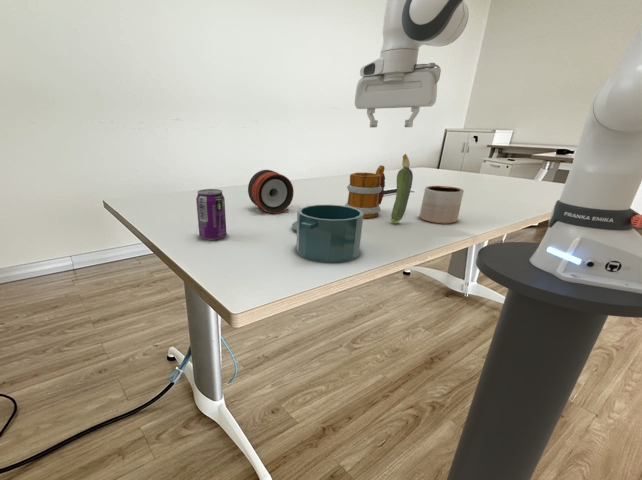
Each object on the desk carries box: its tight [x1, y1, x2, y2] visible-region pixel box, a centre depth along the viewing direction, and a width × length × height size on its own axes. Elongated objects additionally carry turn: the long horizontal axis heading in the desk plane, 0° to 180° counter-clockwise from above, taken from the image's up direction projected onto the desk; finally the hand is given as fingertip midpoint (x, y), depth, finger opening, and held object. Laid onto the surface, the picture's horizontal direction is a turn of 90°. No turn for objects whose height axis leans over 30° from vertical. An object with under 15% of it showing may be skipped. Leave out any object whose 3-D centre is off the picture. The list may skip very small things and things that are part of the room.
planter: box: [419, 185, 465, 225], centre depth 106 cm, size 11×11×10 cm
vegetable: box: [390, 153, 414, 225], centre depth 99 cm, size 4×4×20 cm
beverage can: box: [195, 188, 227, 241], centre depth 88 cm, size 7×7×12 cm
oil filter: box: [247, 169, 294, 214], centre depth 116 cm, size 13×12×13 cm
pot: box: [295, 204, 364, 264], centre depth 80 cm, size 15×20×10 cm
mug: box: [344, 164, 386, 219], centre depth 112 cm, size 11×16×15 cm, turn 131°
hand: (390, 127), depth 90 cm, fingers open, 8 cm apart
